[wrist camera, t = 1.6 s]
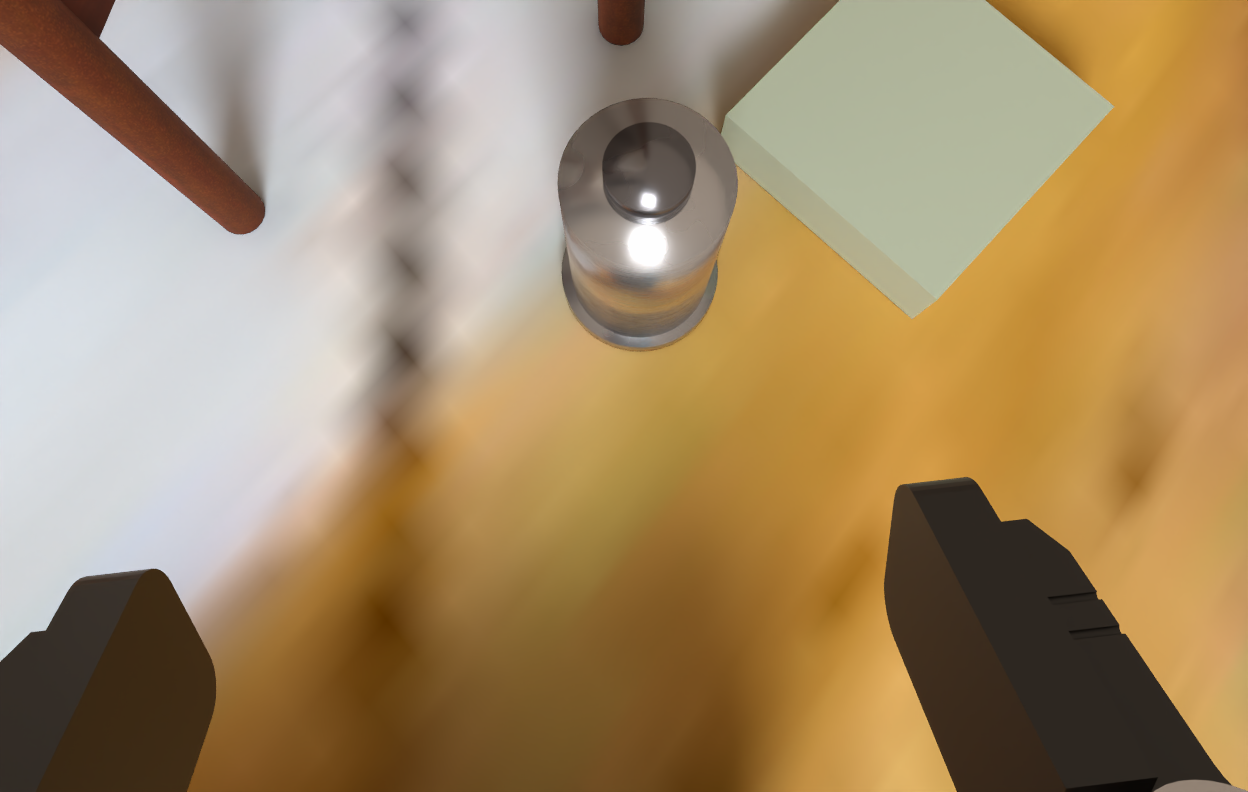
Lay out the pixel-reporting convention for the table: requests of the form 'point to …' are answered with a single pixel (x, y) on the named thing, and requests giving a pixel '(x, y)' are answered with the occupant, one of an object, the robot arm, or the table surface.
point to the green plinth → (910, 135)
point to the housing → (644, 221)
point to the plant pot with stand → (134, 115)
